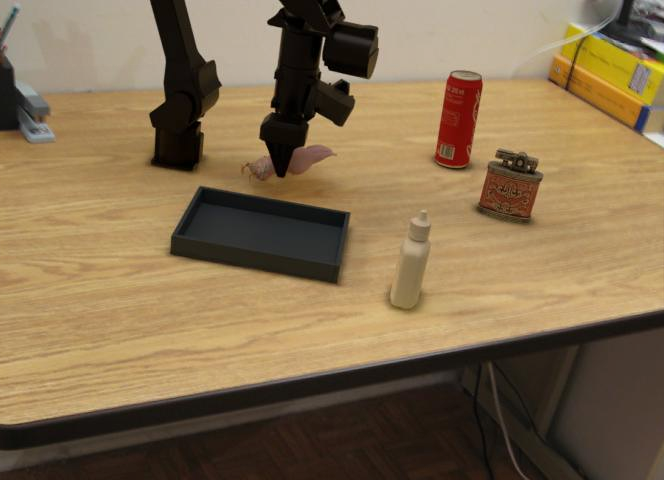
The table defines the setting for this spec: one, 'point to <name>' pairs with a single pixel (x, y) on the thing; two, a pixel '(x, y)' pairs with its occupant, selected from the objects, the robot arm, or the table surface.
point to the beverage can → (458, 118)
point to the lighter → (510, 187)
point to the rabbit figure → (298, 163)
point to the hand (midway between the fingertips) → (284, 167)
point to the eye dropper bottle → (411, 263)
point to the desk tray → (262, 234)
